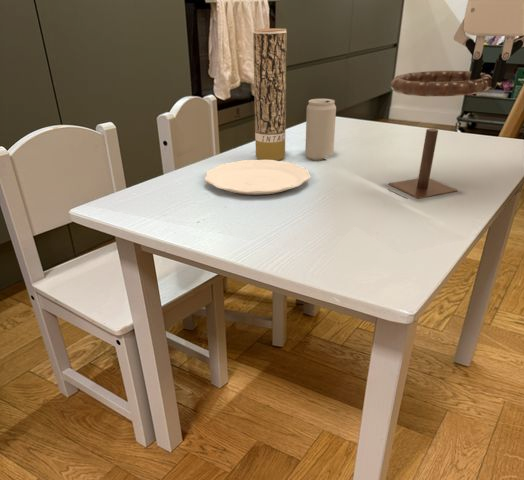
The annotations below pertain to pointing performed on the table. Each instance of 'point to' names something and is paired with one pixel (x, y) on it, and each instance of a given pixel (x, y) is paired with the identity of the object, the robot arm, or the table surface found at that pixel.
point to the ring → (440, 83)
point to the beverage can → (320, 129)
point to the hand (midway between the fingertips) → (484, 85)
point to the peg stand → (424, 174)
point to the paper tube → (270, 92)
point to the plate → (257, 176)
